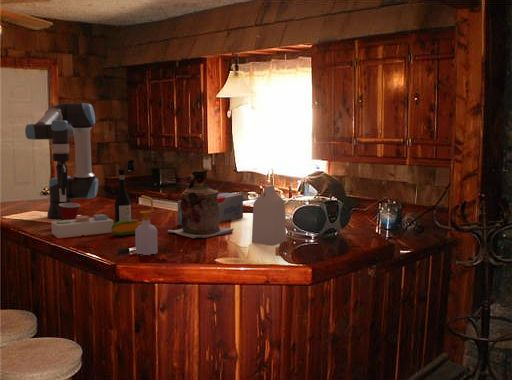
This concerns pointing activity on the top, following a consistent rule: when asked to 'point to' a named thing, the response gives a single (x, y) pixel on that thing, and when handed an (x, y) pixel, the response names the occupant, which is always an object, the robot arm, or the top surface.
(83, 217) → the terracotta block
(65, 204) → the plastic cup
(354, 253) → the top surface
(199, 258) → the top surface
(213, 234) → the cookie jar
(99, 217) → the dusty blue block
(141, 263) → the top surface
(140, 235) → the soap bottle
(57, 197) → the robot arm
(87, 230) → the console
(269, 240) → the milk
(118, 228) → the corn
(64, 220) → the sage green block
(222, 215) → the soda pack
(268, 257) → the top surface
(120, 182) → the wine bottle
